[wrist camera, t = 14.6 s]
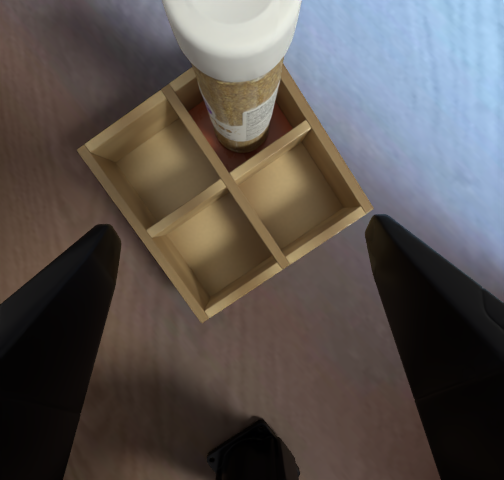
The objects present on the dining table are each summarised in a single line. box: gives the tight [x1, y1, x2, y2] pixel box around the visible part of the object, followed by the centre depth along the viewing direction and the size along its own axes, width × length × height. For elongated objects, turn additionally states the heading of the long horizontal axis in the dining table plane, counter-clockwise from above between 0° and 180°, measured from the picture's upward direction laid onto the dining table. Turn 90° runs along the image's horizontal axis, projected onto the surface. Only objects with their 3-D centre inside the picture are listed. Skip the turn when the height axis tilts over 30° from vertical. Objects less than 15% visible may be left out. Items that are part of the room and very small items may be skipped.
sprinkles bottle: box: [162, 0, 302, 153], centre depth 14 cm, size 5×5×13 cm
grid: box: [77, 64, 374, 323], centre depth 20 cm, size 15×15×4 cm
